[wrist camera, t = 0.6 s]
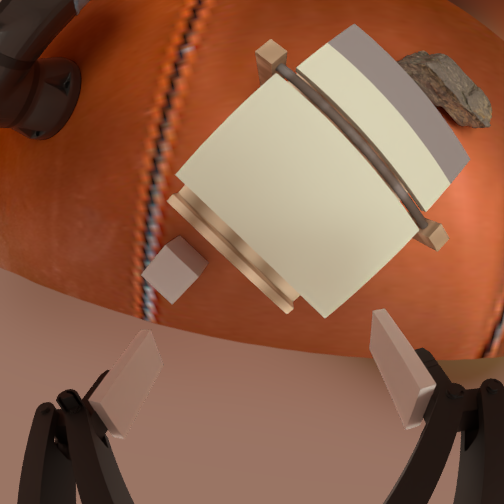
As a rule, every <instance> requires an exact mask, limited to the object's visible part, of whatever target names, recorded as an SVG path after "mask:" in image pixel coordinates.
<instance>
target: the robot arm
mask: <svg viewBox="0 0 504 504" xmlns="http://www.w3.org/2000/svg"><path fill="white" fill-rule="evenodd" d="M89 1H90V0H0V128H12V129H13V130H15V131H17V132H19V133H20V134H22V135H24V136H26V137H28V138H30V139H38V140H44V139H48V138H50V137H52V136H53V135H55V134H56V133H57V132H58V131H59V130H60V129H61V128H62V127H63V126H64V125H65V123H66V122H67V120H68V119H69V117H70V115H71V114H72V112H73V110H74V107H75V105H76V102H77V99H78V96H79V92H80V86H81V74H80V70H79V68H78V66H77V65H76V63H74V62H73V61H71V60H69V59H66V58H63V57H52V58H41V59H38V58H39V56H40V55H41V54H42V53H43V51H44V50H45V49H46V48H47V46H48V45H49V44H50V43H51V42H52V40H53V39H54V38H55V37H56V36H57V35H58V34H59V32H60V31H61V30H62V29H63V28H64V27H65V26H66V25H67V24H68V23H69V22H70V21H71V20H72V19H73V18H74V17H75V16H77V15H78V14H79V13H80V10H81V9H82V8H83V7H84V6H85V5H86V4H87V3H88V2H89ZM370 351H371V354H372V356H373V358H374V360H375V362H376V364H377V366H378V368H379V371H380V373H381V375H382V377H383V379H384V382H385V384H386V386H387V388H388V391H389V393H390V395H391V397H392V400H393V402H394V404H395V407H396V409H397V412H398V414H399V416H400V419H401V421H402V424H403V426H404V429H405V430H406V429H410V428H413V427H416V426H419V425H420V423H421V421H422V419H423V418H424V420H425V422H426V425H425V427H424V429H423V431H422V433H421V436H420V438H419V441H418V443H417V445H416V447H415V449H414V451H413V453H412V455H411V457H410V459H409V461H408V463H407V465H406V467H405V468H404V470H403V472H402V474H401V476H400V477H399V479H398V481H397V483H396V484H395V486H394V487H393V489H392V491H391V492H390V494H389V496H388V497H387V499H386V500H385V502H384V503H383V504H427V503H428V501H429V499H430V497H431V495H432V493H433V491H434V489H435V487H436V485H437V482H438V481H439V478H440V476H441V474H442V471H443V469H444V467H445V464H446V461H447V459H448V456H449V453H450V451H451V448H452V445H453V442H454V439H455V436H456V433H457V432H460V431H461V448H460V450H461V451H460V462H459V471H458V479H457V486H456V493H455V498H454V503H453V504H504V386H503V384H502V383H501V382H500V381H498V380H496V379H487V380H485V381H484V382H483V383H482V385H481V386H480V388H477V389H469V390H465V388H464V387H462V386H461V385H460V384H456V383H451V381H450V380H449V378H448V377H447V375H446V374H445V372H444V371H443V370H442V368H441V367H440V366H439V365H438V363H437V361H436V360H435V358H434V357H433V356H432V354H431V353H430V352H429V351H427V350H426V349H424V348H420V349H416V350H414V349H413V348H412V346H411V345H410V343H409V342H408V340H407V339H406V337H405V336H404V335H403V333H402V332H401V330H400V329H399V328H398V326H397V325H396V323H395V322H394V321H393V319H392V318H391V316H390V315H389V314H388V312H387V311H386V310H385V309H380V310H374V311H373V314H372V327H371V339H370ZM163 365H164V364H163V361H162V359H161V356H160V353H159V351H158V348H157V345H156V342H155V340H154V337H153V334H152V331H151V330H140V331H139V333H138V334H137V335H136V337H135V338H134V339H133V341H132V342H131V343H130V345H129V346H128V347H127V348H126V350H125V351H124V352H123V354H122V355H121V356H120V357H119V359H118V360H117V361H116V363H115V364H114V365H113V367H112V368H111V369H110V370H107V371H105V372H104V373H103V374H101V375H100V376H99V378H98V379H97V380H96V382H95V383H94V384H93V387H91V388H90V390H89V391H88V392H87V394H86V395H85V396H84V398H83V399H82V400H81V398H80V396H79V395H78V393H77V392H76V391H75V390H72V389H69V390H65V391H63V392H61V393H60V394H59V395H58V397H57V399H56V401H57V403H58V404H59V406H60V407H61V409H56V408H55V407H54V405H53V404H52V403H50V402H46V403H43V404H41V405H40V406H39V407H38V408H37V409H36V412H35V415H34V419H33V422H32V426H31V430H30V434H29V438H28V442H27V446H26V451H25V455H24V460H23V466H22V472H21V478H20V485H19V492H18V502H17V504H76V484H77V488H78V492H79V495H80V499H81V502H82V504H134V502H133V500H132V498H131V496H130V494H129V492H128V489H127V487H126V485H125V483H124V480H123V478H122V475H121V473H120V471H119V468H118V465H117V463H116V460H115V457H114V455H113V452H112V449H111V446H110V443H109V440H108V437H107V436H106V434H105V433H106V432H107V430H109V432H110V433H111V435H112V436H113V437H117V438H121V439H125V438H126V436H127V434H128V432H129V430H130V428H131V426H132V424H133V422H134V420H135V418H136V416H137V414H138V412H139V410H140V408H141V407H142V405H143V403H144V401H145V399H146V397H147V395H148V393H149V391H150V389H151V387H152V386H153V384H154V382H155V380H156V378H157V376H158V374H159V372H160V371H161V369H162V367H163ZM54 438H55V442H54Z"/></svg>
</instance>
